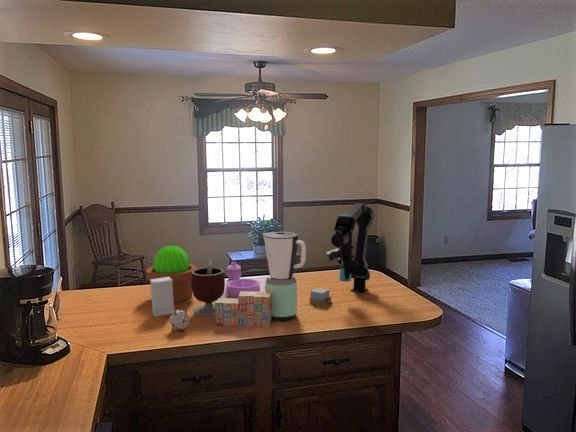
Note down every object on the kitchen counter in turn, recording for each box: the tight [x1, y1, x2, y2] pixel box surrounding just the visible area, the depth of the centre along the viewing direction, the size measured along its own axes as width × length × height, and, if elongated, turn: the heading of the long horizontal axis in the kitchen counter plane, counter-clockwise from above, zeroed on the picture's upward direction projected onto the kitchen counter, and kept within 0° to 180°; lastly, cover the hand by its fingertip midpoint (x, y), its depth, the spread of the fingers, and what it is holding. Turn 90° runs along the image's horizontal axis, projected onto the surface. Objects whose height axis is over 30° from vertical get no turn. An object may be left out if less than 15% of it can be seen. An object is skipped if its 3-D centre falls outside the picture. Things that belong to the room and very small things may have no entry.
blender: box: [261, 231, 307, 322], centre depth 198 cm, size 19×13×35 cm
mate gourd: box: [191, 259, 226, 316], centre depth 208 cm, size 16×14×20 cm
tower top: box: [310, 287, 330, 300], centre depth 218 cm, size 6×6×3 cm
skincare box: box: [150, 277, 175, 317], centre depth 204 cm, size 8×6×15 cm
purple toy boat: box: [225, 261, 261, 299], centre depth 231 cm, size 25×15×13 cm, turn 24°
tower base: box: [309, 295, 332, 307], centre depth 218 cm, size 7×7×3 cm
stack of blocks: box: [214, 291, 272, 328], centre depth 193 cm, size 21×6×12 cm, turn 85°
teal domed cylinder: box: [339, 267, 352, 283], centre depth 217 cm, size 5×5×5 cm
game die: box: [166, 307, 193, 333], centre depth 186 cm, size 9×8×10 cm
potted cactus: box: [145, 244, 198, 303], centre depth 225 cm, size 22×22×25 cm
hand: (345, 277), depth 218 cm, fingers closed on teal domed cylinder, 5 cm apart
